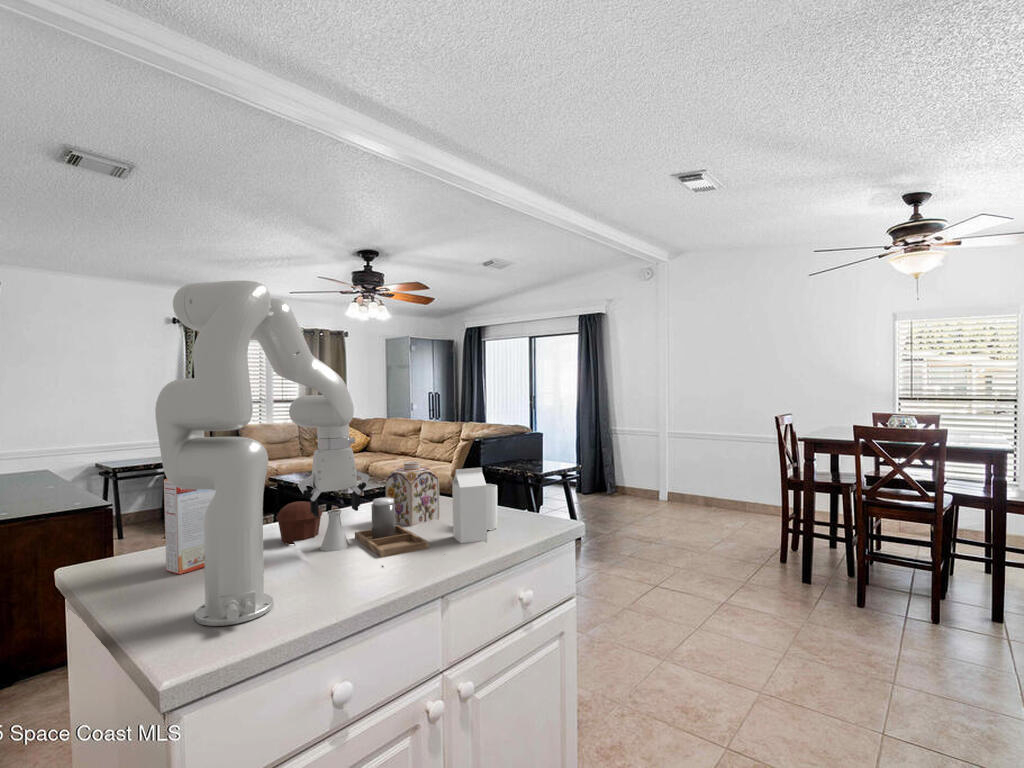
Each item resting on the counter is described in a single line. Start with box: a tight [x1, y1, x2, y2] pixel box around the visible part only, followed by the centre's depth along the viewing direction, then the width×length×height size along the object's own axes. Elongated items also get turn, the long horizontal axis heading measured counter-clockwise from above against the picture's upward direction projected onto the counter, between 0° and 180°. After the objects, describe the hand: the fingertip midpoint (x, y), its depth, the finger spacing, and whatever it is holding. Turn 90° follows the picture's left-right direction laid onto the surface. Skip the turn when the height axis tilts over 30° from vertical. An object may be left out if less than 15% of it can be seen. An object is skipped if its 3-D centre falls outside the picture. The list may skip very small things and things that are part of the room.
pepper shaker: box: [371, 497, 396, 539], centre depth 141 cm, size 6×6×10 cm
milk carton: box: [451, 467, 488, 544], centre depth 140 cm, size 7×7×19 cm
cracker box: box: [163, 478, 216, 575], centre depth 126 cm, size 14×6×21 cm, turn 149°
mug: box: [486, 483, 498, 530], centre depth 155 cm, size 10×7×12 cm, turn 44°
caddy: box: [354, 524, 430, 559], centre depth 137 cm, size 20×12×3 cm, turn 33°
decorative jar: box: [385, 461, 441, 527], centre depth 162 cm, size 12×12×18 cm
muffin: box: [275, 500, 323, 545], centre depth 145 cm, size 12×11×10 cm
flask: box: [320, 509, 350, 552], centre depth 134 cm, size 7×7×10 cm
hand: (335, 512), depth 135 cm, fingers open, 9 cm apart
